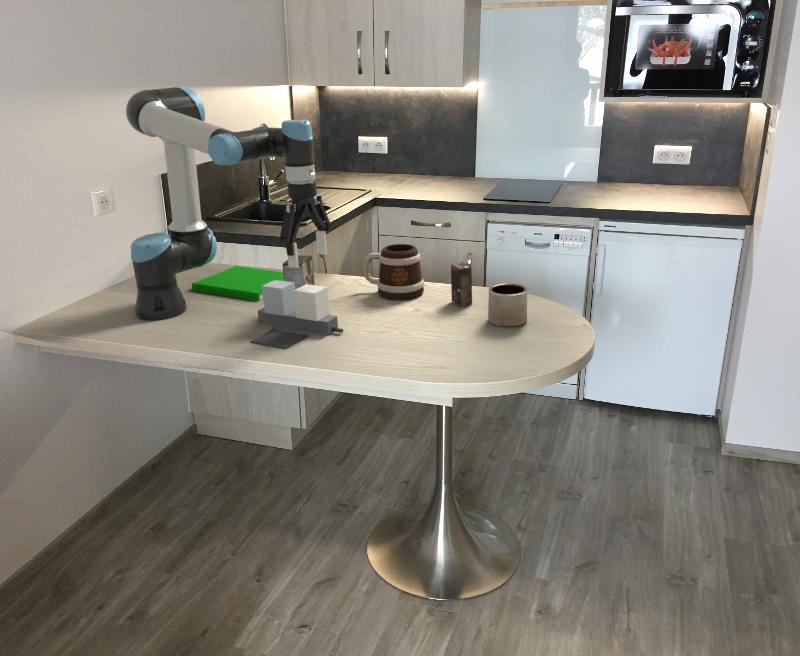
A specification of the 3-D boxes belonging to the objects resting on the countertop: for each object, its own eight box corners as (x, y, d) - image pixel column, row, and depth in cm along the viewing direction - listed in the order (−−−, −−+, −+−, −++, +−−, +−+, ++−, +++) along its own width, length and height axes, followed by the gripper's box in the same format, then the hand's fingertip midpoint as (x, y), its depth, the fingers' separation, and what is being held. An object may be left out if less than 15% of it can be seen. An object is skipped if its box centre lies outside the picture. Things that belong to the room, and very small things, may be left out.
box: (450, 301, 220) (450, 263, 216) (463, 299, 222) (463, 261, 218) (459, 307, 215) (459, 268, 211) (472, 305, 217) (472, 266, 213)
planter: (484, 326, 200) (484, 293, 197) (492, 313, 210) (493, 281, 206) (522, 329, 197) (523, 296, 193) (530, 316, 206) (531, 284, 203)
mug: (430, 287, 234) (429, 242, 229) (417, 302, 221) (415, 255, 215) (372, 284, 240) (370, 240, 235) (356, 298, 227) (353, 252, 221)
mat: (250, 342, 195) (250, 341, 195) (273, 330, 203) (272, 328, 203) (286, 349, 190) (286, 347, 190) (308, 336, 198) (307, 334, 198)
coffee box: (297, 304, 223) (292, 254, 217) (317, 305, 222) (312, 255, 216) (287, 315, 215) (281, 263, 209) (307, 315, 213) (303, 263, 207)
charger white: (296, 321, 201) (293, 290, 197) (308, 315, 206) (306, 284, 202) (317, 325, 198) (314, 293, 194) (329, 318, 202) (327, 287, 199)
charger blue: (265, 316, 206) (261, 285, 202) (278, 310, 211) (274, 279, 207) (285, 320, 203) (281, 288, 199) (297, 313, 207) (294, 282, 204)
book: (237, 273, 259) (236, 265, 258) (300, 283, 246) (299, 274, 245) (192, 292, 241) (191, 283, 240) (258, 303, 228) (257, 294, 227)
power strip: (259, 323, 208) (257, 309, 207) (269, 318, 213) (268, 304, 211) (337, 337, 196) (336, 322, 195) (347, 331, 200) (346, 316, 199)
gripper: (284, 190, 176) (292, 274, 183) (339, 174, 196) (344, 250, 204) (260, 189, 179) (269, 271, 187) (316, 173, 200) (322, 247, 207)
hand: (308, 260), depth 195 cm, fingers open, 13 cm apart
